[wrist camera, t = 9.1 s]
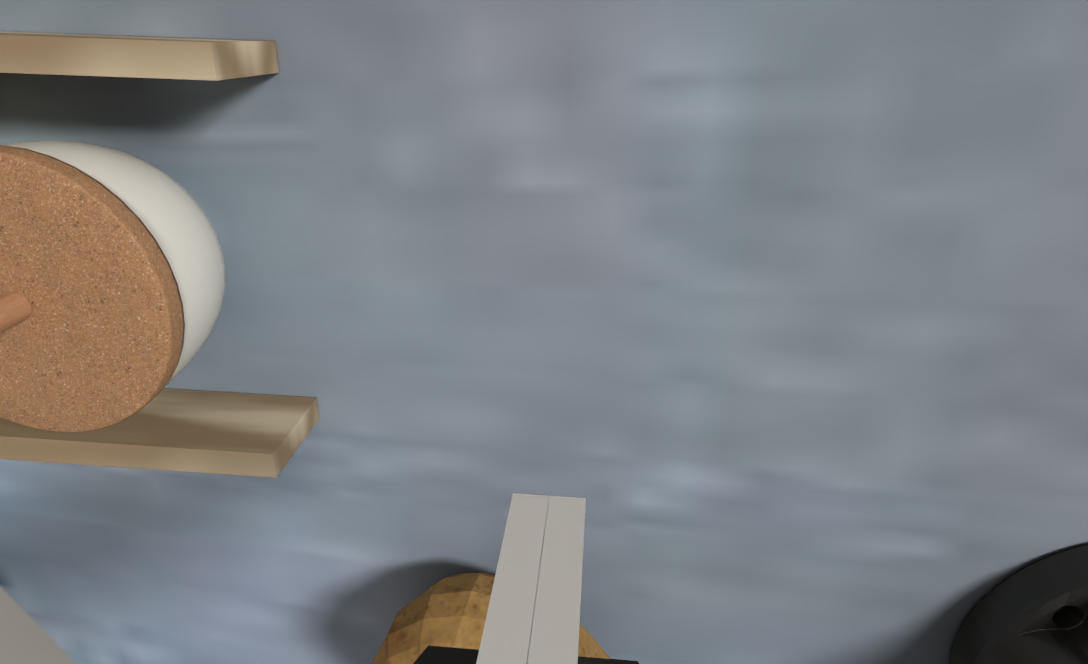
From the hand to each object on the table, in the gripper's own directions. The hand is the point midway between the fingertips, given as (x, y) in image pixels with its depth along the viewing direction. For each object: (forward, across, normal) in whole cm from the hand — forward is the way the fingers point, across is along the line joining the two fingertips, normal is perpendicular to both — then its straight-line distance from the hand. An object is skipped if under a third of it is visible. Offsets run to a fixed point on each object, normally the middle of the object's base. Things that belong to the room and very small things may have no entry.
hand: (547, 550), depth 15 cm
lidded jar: (+18, +20, -1) cm, 26 cm away
